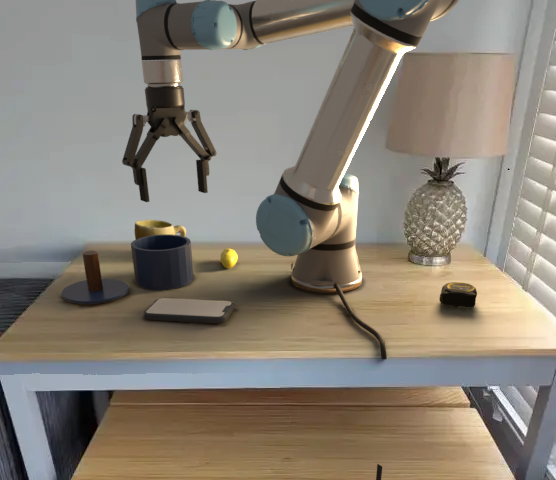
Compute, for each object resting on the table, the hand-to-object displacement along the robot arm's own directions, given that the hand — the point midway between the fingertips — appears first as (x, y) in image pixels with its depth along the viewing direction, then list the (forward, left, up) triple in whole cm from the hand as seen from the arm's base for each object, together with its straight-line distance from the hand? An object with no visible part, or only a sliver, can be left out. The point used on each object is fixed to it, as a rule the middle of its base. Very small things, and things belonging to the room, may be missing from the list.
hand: (174, 196), depth 129 cm
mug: (+17, -3, -18) cm, 25 cm away
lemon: (+1, -13, -18) cm, 22 cm away
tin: (0, +4, -18) cm, 18 cm away
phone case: (-21, +8, -18) cm, 29 cm away
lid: (0, +20, -17) cm, 26 cm away
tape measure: (-47, -38, -18) cm, 63 cm away
